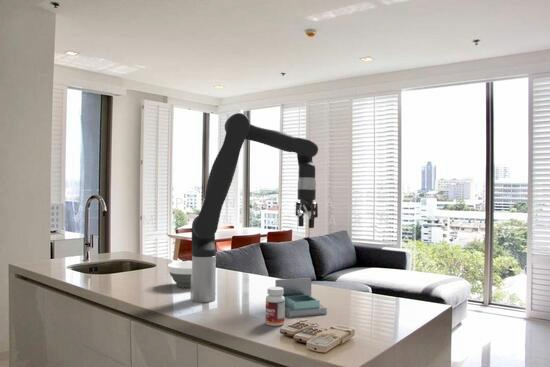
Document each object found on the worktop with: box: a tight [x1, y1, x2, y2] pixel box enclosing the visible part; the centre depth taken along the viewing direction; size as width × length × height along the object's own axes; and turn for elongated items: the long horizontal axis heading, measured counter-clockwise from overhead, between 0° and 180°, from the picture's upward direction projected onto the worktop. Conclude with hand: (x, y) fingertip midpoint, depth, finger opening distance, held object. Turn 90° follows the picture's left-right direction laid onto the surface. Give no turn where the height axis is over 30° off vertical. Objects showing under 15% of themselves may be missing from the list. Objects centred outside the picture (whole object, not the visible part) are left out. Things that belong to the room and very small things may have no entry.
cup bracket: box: [274, 277, 328, 318], centre depth 157 cm, size 14×14×10 cm
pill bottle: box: [264, 286, 286, 327], centre depth 141 cm, size 6×6×11 cm
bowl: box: [167, 260, 192, 289], centre depth 197 cm, size 20×20×10 cm
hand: (306, 227), depth 184 cm, fingers open, 8 cm apart
